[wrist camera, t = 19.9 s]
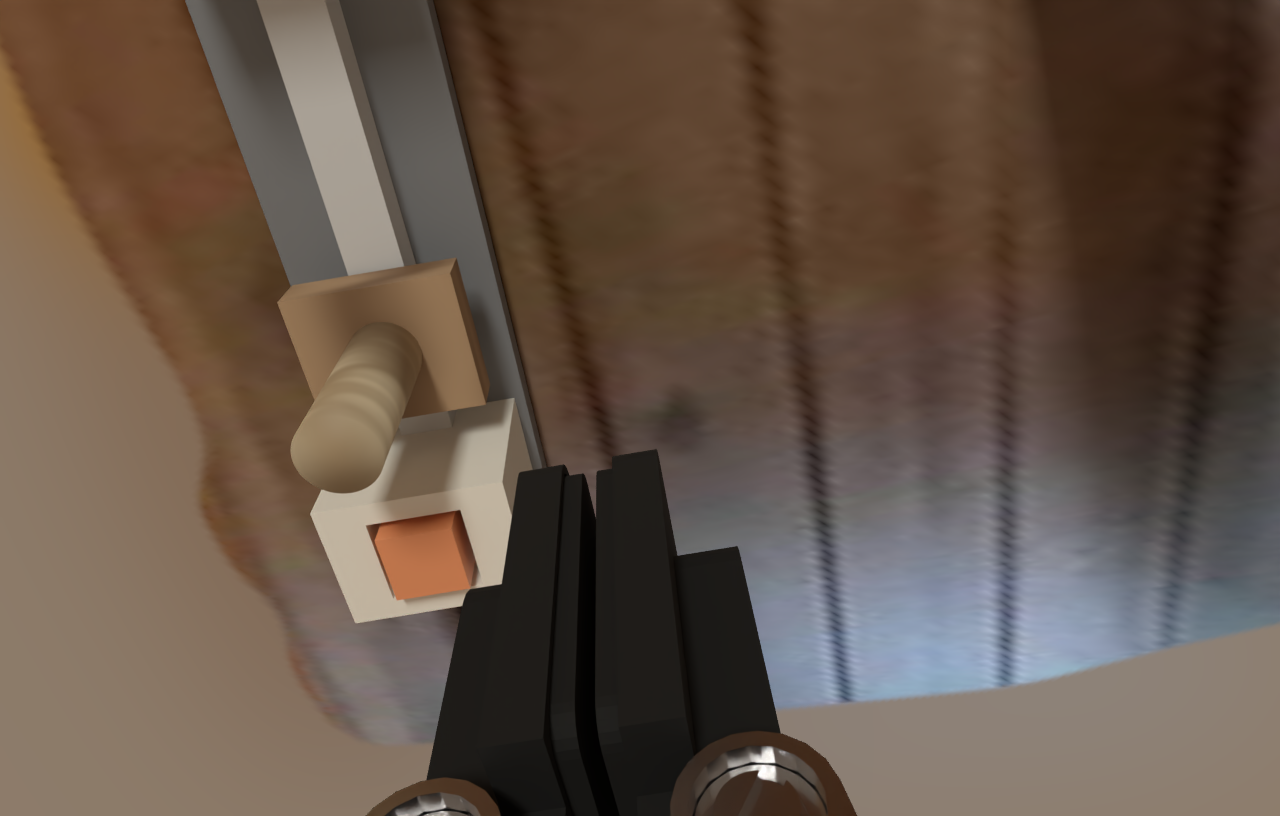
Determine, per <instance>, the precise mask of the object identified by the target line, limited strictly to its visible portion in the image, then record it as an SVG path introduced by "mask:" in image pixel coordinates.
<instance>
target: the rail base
mask: <svg viewBox="0 0 1280 816" xmlns="http://www.w3.org/2000/svg"><path fill="white" fill-rule="evenodd" d="M185 1H186V4H187V7H188V9H189V12H190V15H191V17H192V20H193V23H194V26H195V28H196V31H197V34H198V36H199V39H200V42H201V44H202V47H203V50H204V53H205V55H206V58H207V61H208V63H209V66H210V69H211V72H212V74H213V77H214V80H215V82H216V85H217V88H218V90H219V93H220V96H221V99H222V101H223V104H224V107H225V109H226V112H227V115H228V117H229V120H230V123H231V126H232V128H233V131H234V134H235V136H236V139H237V142H238V145H239V147H240V150H241V153H242V155H243V158H244V161H245V163H246V166H247V169H248V172H249V174H250V177H251V180H252V182H253V185H254V188H255V190H256V193H257V196H258V199H259V201H260V204H261V207H262V209H263V212H264V215H265V218H266V220H267V223H268V226H269V228H270V231H271V234H272V236H273V239H274V242H275V245H276V247H277V250H278V253H279V255H280V258H281V261H282V263H283V266H284V269H285V272H286V274H287V277H288V280H289V282H290V285H291V286H292V285H297V284H303V283H309V282H315V281H321V280H327V279H332V278H338V277H344V276H350V275H356V274H362V273H368V272H374V271H380V270H386V269H391V268H397V267H403V266H409V265H415V264H421V263H427V262H433V261H439V260H444V259H450V258H457V262H458V265H459V269H460V273H461V276H462V280H463V284H464V288H465V291H466V295H467V299H468V303H469V306H470V310H471V314H472V318H473V321H474V325H475V329H476V333H477V336H478V340H479V344H480V348H481V351H482V355H483V359H484V363H485V366H486V370H487V374H488V378H489V381H490V387H489V392H488V397H487V402H486V405H481V406H475V407H469V408H463V409H457V410H451V411H445V412H439V413H433V414H427V415H421V416H415V417H409V418H403V419H401V422H400V424H399V427H398V430H397V432H396V435H395V438H394V440H393V443H392V445H391V448H390V451H389V453H388V456H387V459H386V461H385V464H384V467H383V469H382V472H381V474H380V476H379V477H378V478H377V480H376V481H375V482H374V483H373V484H372V485H370V486H369V487H367V488H365V489H363V490H361V491H358V492H354V493H346V494H340V493H332V492H328V491H325V490H321V492H320V494H319V497H318V499H317V501H316V503H315V505H314V507H313V509H312V511H311V513H310V515H311V517H312V519H313V522H314V524H315V527H316V529H317V531H318V534H319V536H320V539H321V541H322V543H323V546H324V548H325V551H326V553H327V556H328V558H329V560H330V563H331V565H332V568H333V570H334V572H335V575H336V577H337V580H338V582H339V584H340V587H341V589H342V592H343V594H344V597H345V599H346V601H347V604H348V606H349V609H350V611H351V613H352V616H353V618H354V621H355V623H361V622H367V621H373V620H379V619H385V618H391V617H397V616H403V615H410V614H416V613H422V612H428V611H434V610H440V609H446V608H452V607H459V606H462V605H463V601H464V598H465V595H466V593H467V592H468V591H469V590H470V589H474V588H480V587H486V586H493V585H499V584H502V578H503V572H504V565H505V558H506V552H507V545H508V539H509V532H510V525H511V519H512V512H513V506H514V499H515V492H516V486H517V479H518V475H519V473H520V472H523V471H529V470H535V469H541V468H547V466H546V462H545V458H544V454H543V450H542V445H541V441H540V437H539V433H538V429H537V425H536V421H535V417H534V413H533V409H532V404H531V400H530V396H529V392H528V388H527V384H526V380H525V376H524V372H523V368H522V363H521V359H520V355H519V351H518V347H517V343H516V339H515V335H514V331H513V327H512V322H511V318H510V314H509V310H508V306H507V302H506V298H505V294H504V290H503V286H502V281H501V277H500V273H499V269H498V265H497V261H496V257H495V253H494V249H493V245H492V240H491V236H490V232H489V228H488V224H487V220H486V216H485V212H484V208H483V204H482V199H481V195H480V191H479V187H478V183H477V179H476V175H475V171H474V167H473V163H472V158H471V154H470V150H469V146H468V142H467V138H466V134H465V130H464V126H463V122H462V117H461V113H460V109H459V105H458V101H457V97H456V93H455V89H454V85H453V81H452V76H451V72H450V68H449V64H448V60H447V56H446V52H445V48H444V44H443V40H442V35H441V31H440V27H439V23H438V19H437V15H436V11H435V7H434V3H433V0H185ZM456 510H460V511H461V514H462V517H463V520H464V523H465V527H466V530H467V533H468V536H469V540H470V543H471V546H472V549H473V552H474V556H475V564H474V570H473V576H472V582H471V588H470V589H464V590H458V591H452V592H446V593H440V594H434V595H428V596H422V597H415V598H409V599H403V600H397V599H396V597H395V594H394V591H393V589H392V586H391V583H390V581H389V578H388V576H387V573H386V570H385V568H384V565H383V562H382V560H381V557H380V554H379V552H378V549H377V546H376V544H375V538H376V536H377V533H378V530H379V527H380V524H381V523H384V522H390V521H396V520H402V519H408V518H414V517H420V516H426V515H432V514H438V513H444V512H450V511H456Z"/></svg>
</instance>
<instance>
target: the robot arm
mask: <svg viewBox="0 0 1280 816" xmlns="http://www.w3.org/2000/svg"><path fill="white" fill-rule="evenodd" d="M366 816H857V814H856V812H855V810H854V808H853V806H852V803H851V801H850V799H849V797H848V795H847V793H846V791H845V789H844V786H843V784H842V782H841V780H840V779H839V777H838V776H837V774H836V773H835V771H834V770H833V768H832V767H831V765H830V764H829V762H828V761H827V760H826V758H824V757H823V756H822V755H820V754H819V753H818V752H817V751H815V750H814V749H813V748H812V747H810V746H809V745H808V744H806V743H804V742H802V741H799V740H797V739H794V738H792V737H789V736H787V735H784V734H781V733H780V728H779V724H778V720H777V715H776V711H775V706H774V702H773V697H772V693H771V689H770V684H769V680H768V675H767V671H766V667H765V662H764V658H763V653H762V649H761V645H760V640H759V636H758V631H757V627H756V623H755V618H754V614H753V609H752V605H751V601H750V596H749V592H748V587H747V583H746V579H745V574H744V570H743V565H742V561H741V557H740V553H739V549H738V546H736V547H730V548H724V549H717V550H711V551H705V552H699V553H692V554H686V555H680V556H677V551H676V546H675V541H674V535H673V530H672V525H671V519H670V514H669V509H668V503H667V498H666V493H665V488H664V482H663V477H662V472H661V466H660V461H659V456H658V452H657V449H655V450H649V451H643V452H637V453H631V454H625V455H619V456H613V457H612V469H607V470H601V471H597V475H596V517H595V513H594V509H593V505H592V501H591V497H590V493H589V488H588V484H587V481H586V478H585V475H584V474H577V475H571V476H569V473H568V470H567V468H566V466H565V465H559V466H553V467H547V468H541V469H535V470H529V471H523V472H520V473H519V475H518V479H517V486H516V492H515V499H514V506H513V512H512V519H511V525H510V532H509V539H508V545H507V552H506V558H505V565H504V572H503V578H502V584H499V585H493V586H486V587H480V588H474V589H470V590H469V591H468V592H467V593H466V595H465V598H464V601H463V605H462V609H461V614H460V619H459V624H458V629H457V634H456V639H455V643H454V648H453V653H452V658H451V663H450V668H449V673H448V678H447V682H446V687H445V692H444V697H443V702H442V707H441V712H440V716H439V721H438V726H437V731H436V736H435V741H434V746H433V751H432V755H431V760H430V765H429V770H428V775H427V780H425V781H420V782H418V783H415V784H413V785H410V786H408V787H406V788H403V789H401V790H399V791H396V792H395V793H393V794H392V795H391V796H389V797H388V798H386V799H385V800H383V801H382V802H381V803H379V804H378V805H376V806H375V807H373V808H372V810H371V811H370V812H369V813H368V814H367V815H366Z"/></svg>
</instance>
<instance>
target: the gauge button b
mask: <svg viewBox="0 0 1280 816" xmlns="http://www.w3.org/2000/svg"><path fill="white" fill-rule="evenodd" d="M375 544H376V546H377V549H378V552H379V554H380V557H381V560H382V562H383V565H384V568H385V570H386V573H387V576H388V578H389V581H390V583H391V586H392V589H393V591H394V594H395V597H396V599H397V600H403V599H409V598H415V597H422V596H428V595H434V594H440V593H446V592H452V591H458V590H464V589H470V588H471V582H472V576H473V570H474V564H475V556H474V552H473V549H472V546H471V543H470V540H469V536H468V533H467V530H466V527H465V523H464V520H463V517H462V514H461V511H460V510H456V511H450V512H444V513H438V514H432V515H426V516H420V517H414V518H408V519H402V520H396V521H390V522H384V523H381V524H380V527H379V530H378V533H377V536H376V538H375Z"/></svg>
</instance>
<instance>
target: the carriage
mask: <svg viewBox="0 0 1280 816" xmlns="http://www.w3.org/2000/svg"><path fill="white" fill-rule="evenodd" d="M277 303H278V306H279V308H280V311H281V313H282V316H283V319H284V321H285V324H286V327H287V329H288V332H289V334H290V337H291V340H292V342H293V345H294V348H295V350H296V353H297V355H298V358H299V361H300V363H301V366H302V369H303V371H304V374H305V376H306V379H307V382H308V384H309V387H310V389H311V392H312V395H313V397H314V400H315V401H314V403H313V405H312V406H311V408H310V410H309V411H308V413H307V415H306V417H305V418H304V420H303V422H302V423H301V425H300V427H299V428H298V430H297V432H296V433H295V435H294V437H293V440H292V443H291V457H292V461H293V463H294V465H295V467H296V469H297V471H298V472H299V473H300V475H301V476H302V477H303V478H304V479H305V480H307V481H308V482H309V483H311V484H312V485H314V486H316V487H317V488H320V489H322V490H325V491H328V492H332V493H340V494H346V493H354V492H358V491H361V490H363V489H365V488H367V487H369V486H370V485H372V484H373V483H374V482H375V481H376V480H377V478H378V477H379V476H380V474H381V472H382V469H383V467H384V464H385V461H386V459H387V456H388V453H389V451H390V448H391V445H392V443H393V440H394V438H395V435H396V432H397V430H398V427H399V424H400V422H401V419H403V418H409V417H415V416H421V415H427V414H433V413H439V412H445V411H451V410H457V409H463V408H469V407H475V406H481V405H486V402H487V397H488V392H489V387H490V381H489V378H488V374H487V370H486V366H485V363H484V359H483V355H482V351H481V348H480V344H479V340H478V336H477V333H476V329H475V325H474V321H473V318H472V314H471V310H470V306H469V303H468V299H467V295H466V291H465V288H464V284H463V280H462V276H461V273H460V269H459V265H458V262H457V258H450V259H444V260H439V261H433V262H427V263H421V264H415V265H409V266H403V267H397V268H391V269H386V270H380V271H374V272H368V273H362V274H356V275H350V276H344V277H338V278H332V279H327V280H321V281H315V282H309V283H303V284H297V285H292V286H291V287H290V288H289V290H288V291H287V292H286V293H285V294H284V295H283V297H282V298H281V299H280V300H279V301H278V302H277Z"/></svg>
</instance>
